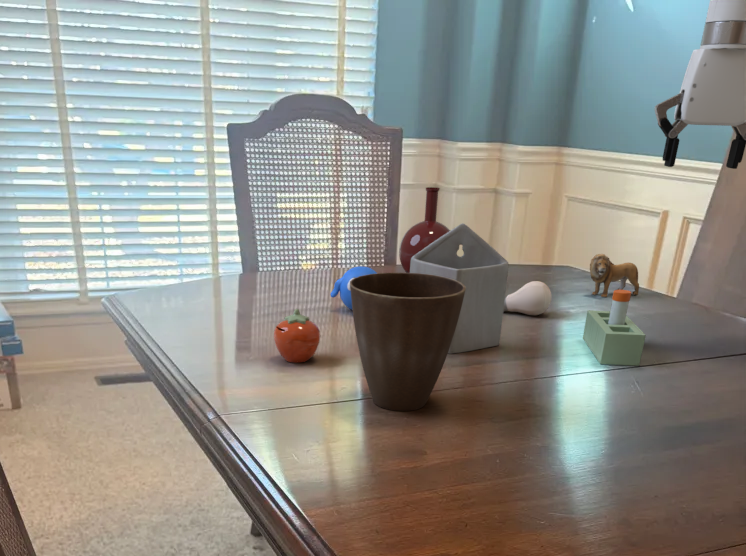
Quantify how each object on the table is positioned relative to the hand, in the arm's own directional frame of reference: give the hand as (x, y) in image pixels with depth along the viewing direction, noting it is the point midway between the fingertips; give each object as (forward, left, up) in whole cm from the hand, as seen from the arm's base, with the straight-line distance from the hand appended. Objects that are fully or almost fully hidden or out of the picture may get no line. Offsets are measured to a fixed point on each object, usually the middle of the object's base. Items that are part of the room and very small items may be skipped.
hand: (699, 167), depth 122 cm
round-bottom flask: (+41, -47, -28) cm, 69 cm away
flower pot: (+45, +37, -28) cm, 65 cm away
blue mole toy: (+54, -14, -28) cm, 63 cm away
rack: (+10, +6, -28) cm, 31 cm away
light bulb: (+22, -19, -28) cm, 41 cm away
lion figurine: (0, -40, -28) cm, 49 cm away
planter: (+37, +8, -28) cm, 47 cm away
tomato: (+62, +19, -28) cm, 71 cm away
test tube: (+10, +6, -28) cm, 31 cm away
